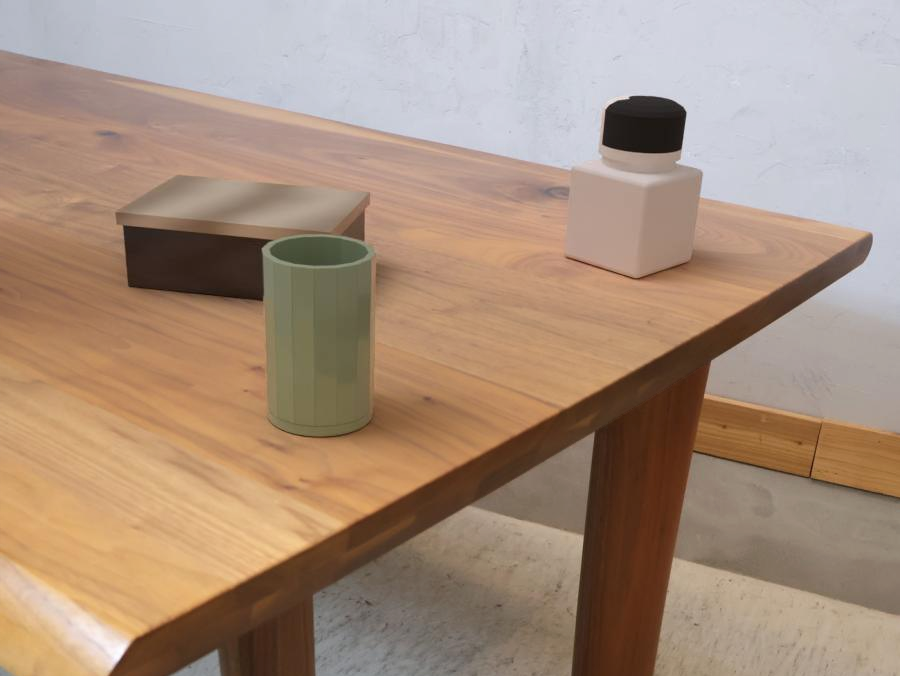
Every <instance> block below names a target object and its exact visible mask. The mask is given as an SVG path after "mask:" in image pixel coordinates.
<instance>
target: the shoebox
mask: <svg viewBox="0 0 900 676" xmlns="http://www.w3.org/2000/svg"><path fill="white" fill-rule="evenodd" d="M370 205H371V192H370V191H363V190H350V189H341V188H328V187H320V186H319V187H317V186H316V187H315V186H307V185H294V184H285V183H274V182H273V183H272V182H263V181H251V180H241V179H229V178H220V177H219V178H218V177H207V176H197V175H196V176H195V175H184V174H176V175H174V176H173V177H171V178H169V179H168V180H166V181H165V182H162V183H160V184H159V185H158V186H156V187H155V188H152V189H150V190H149V191H148V192H146V193H143V194H142V195H141V196H139V197H137V198H136V199H134V200H132V201H131V202H129V203H128V204H125V205H124V206H123V207H121V208H119V209H117V210H116V211H115V222H116V225H117V226H122V231H123V232H122V233H123V242H124V244H123V245H124V255H125V265H126V279H127V287H134V288H143V289H154V290H163V291H171V292H173V291H174V292H180V293H181V292H182V293H191V294H200V295H210V296H220V297H230V298H237V299H239V298H240V299H247V300H248V299H249V300H257V301H263V281H262V248H263V247H264V246H265V245H266V244H267V243H268V242H271V241H274V240H277V239H280V238H283V237H289V236H296V235H306V234H327V235H337V236H345V237H350V238H354V239H358V240H362V241H364V242H366V241H365V237H366V236H365V231H366V230H365V229H366V225H365V224H366V209H367V208H368V207H369V206H370Z"/></svg>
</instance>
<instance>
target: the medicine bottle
mask: <svg viewBox="0 0 900 676" xmlns="http://www.w3.org/2000/svg"><path fill="white" fill-rule="evenodd" d="M601 112H602V113H601V123H600V132H599V141H598V150H597V152H598V154H599V155H601V157H600V158H597V159H592V160H588V161H587V160H586V161H583V162H578V163H574V164H573V165H572V166H571V172H570V181H569V182H570V183H569V193H568V203H567V204H568V205H567V216H566V225H565V235H564V236H565V237H564V246H563V247H564V249H563V255H564V256H565V257H567V258H569V259H572V260H574V261H575V260H576V261H579V262H582V263H584V264H585V263H586V264H588V265H591V266H595V267H598V268H601V269H604V270H607V271H611V272H614V273H617V274H620V275H623V276H627V277H630V278H633V279H640V278H643V277H646V276H650V275H651V274H655V273H658V272H661V271H665V270H667V269H670V268H673V267H677V266H679V265H682V264H685V263H688V262H689V261H691V259H692V253H693V247H694V246H693V245H694V239H695V232H696V225H697V219H698V210H699V204H700V198H701V190H702V184H703V177H704V172H703V170H702V169H701V168H697V167H693V166H688V165H684V164H680V163H677V162H678V161H680V160H681V158H682V151H683V143H684V137H685V129H686V123H687V122H686V121H687V114H688V112H687V110H686V108H685V107H684V106H683V105H682V104H680V103H679V102H677V101H675V100H673V99H671V98H668V97H667V98H666V97H662V96H657V95H656V96H655V95H645V94H626V95H625V94H624V95H619V96H618V95H617V96H616V97H614V98H612V99H609V100H607V101H606V102H605V103H604V104H603V106H602V111H601Z"/></svg>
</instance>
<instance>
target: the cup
mask: <svg viewBox="0 0 900 676" xmlns="http://www.w3.org/2000/svg"><path fill="white" fill-rule="evenodd" d="M262 281H263V300H262V310H263V313H262V314H263V343H264V345H263V346H264V369H265V370H264V371H265V372H264V373H265V375H264V377H265V378H264V379H265V403H266V416H267V419H268V421H269V422H270V423H271V424H272V425H273V426H274V427H276V428H277V429H280V430H282V431H284V432H287V433H290V434H293V435H298V436H303V437H320V438H321V437H323V438H324V437H335V436H341V435H345V434H349V433H353V432H355V431H358V430H360V429H362V428H363V427H366V425H368V424H369V423H370V421H371V420H372V418H373V415H374V405H375V360H376V359H375V355H376V353H375V351H376V300H377V299H376V295H377V294H376V293H377V291H376V289H377V251H376V249H375V248H374V246H373V245H371V244H370V243H367V242H366V241H365V242H364V241H362V240H358V239H354V238H350V237H345V236H337V235H327V234H306V235H296V236H289V237H283V238H280V239H277V240H274V241H271V242H268V243H267V244H266V245H265V246H264V247H263V248H262Z"/></svg>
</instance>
